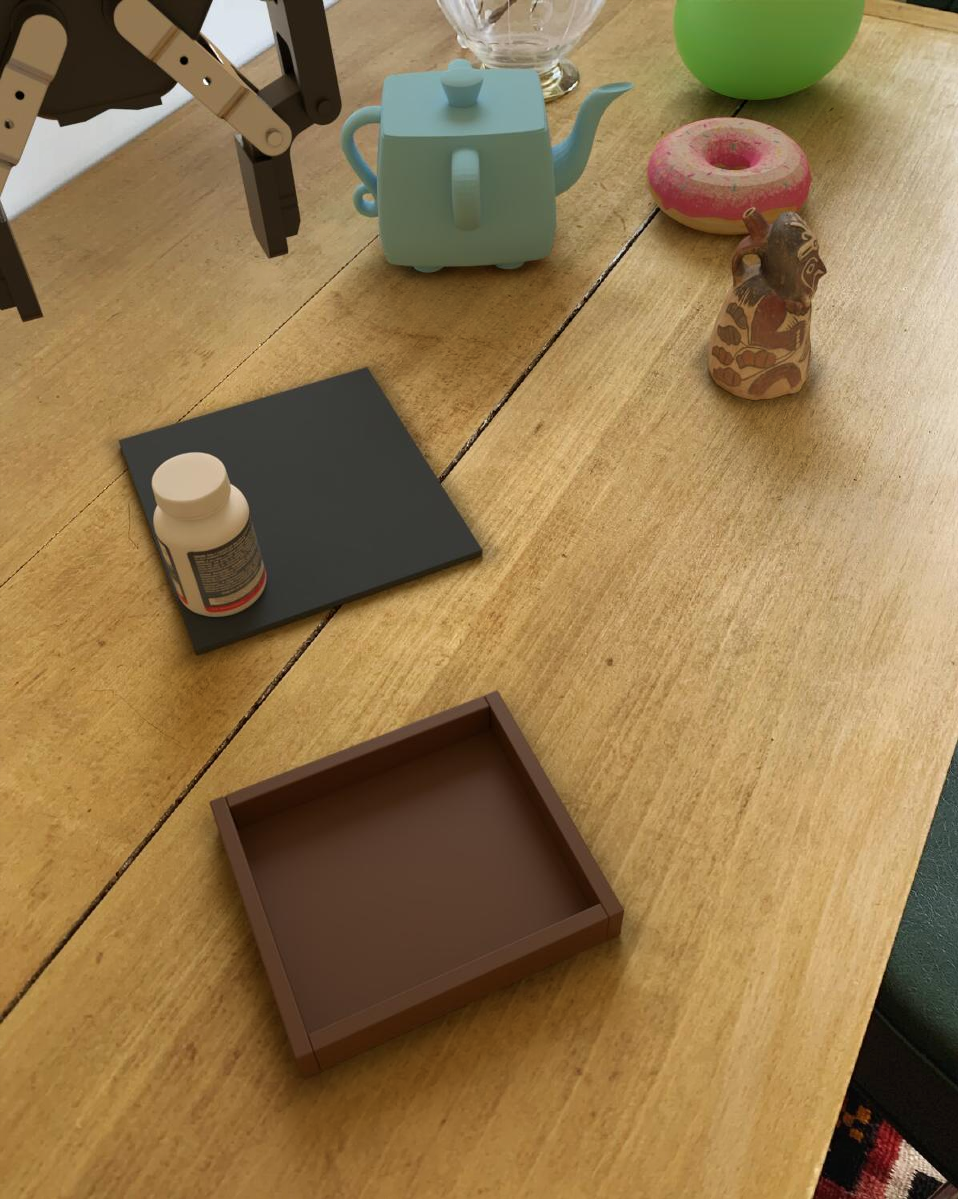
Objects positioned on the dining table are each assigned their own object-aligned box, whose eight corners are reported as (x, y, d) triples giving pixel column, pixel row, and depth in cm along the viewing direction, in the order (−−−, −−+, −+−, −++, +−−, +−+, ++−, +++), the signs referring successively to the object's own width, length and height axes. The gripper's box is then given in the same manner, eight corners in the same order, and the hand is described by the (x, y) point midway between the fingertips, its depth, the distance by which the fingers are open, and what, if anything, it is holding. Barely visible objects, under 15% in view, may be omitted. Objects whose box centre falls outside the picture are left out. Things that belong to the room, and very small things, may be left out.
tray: (304, 1080, 48) (295, 1060, 46) (219, 826, 56) (208, 800, 54) (620, 934, 52) (624, 910, 50) (498, 716, 60) (497, 689, 58)
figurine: (787, 412, 76) (824, 257, 67) (690, 382, 78) (712, 228, 69) (820, 355, 80) (859, 201, 71) (726, 328, 82) (752, 175, 73)
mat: (196, 655, 63) (194, 650, 63) (120, 445, 75) (118, 439, 75) (483, 555, 68) (482, 549, 67) (367, 371, 80) (367, 366, 80)
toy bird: (762, 149, 99) (793, -29, 88) (623, 88, 108) (635, -81, 96) (880, 82, 107) (922, -89, 96) (741, 31, 115) (765, -132, 104)
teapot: (453, 325, 83) (445, 154, 73) (325, 238, 92) (302, 72, 81) (624, 235, 91) (638, 68, 81) (491, 161, 99) (489, 1, 89)
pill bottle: (283, 568, 67) (257, 458, 60) (238, 630, 64) (205, 521, 57) (209, 544, 68) (175, 434, 62) (161, 603, 65) (120, 495, 59)
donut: (691, 262, 88) (699, 204, 84) (615, 183, 96) (619, 127, 92) (836, 224, 91) (850, 166, 87) (751, 150, 99) (760, 95, 95)
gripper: (-352, -243, 22) (-42, 396, 35) (320, -328, 26) (384, 279, 38) (-340, -314, 27) (-70, 274, 39) (231, -378, 30) (314, 179, 43)
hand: (154, 275), depth 39 cm, fingers open, 8 cm apart
